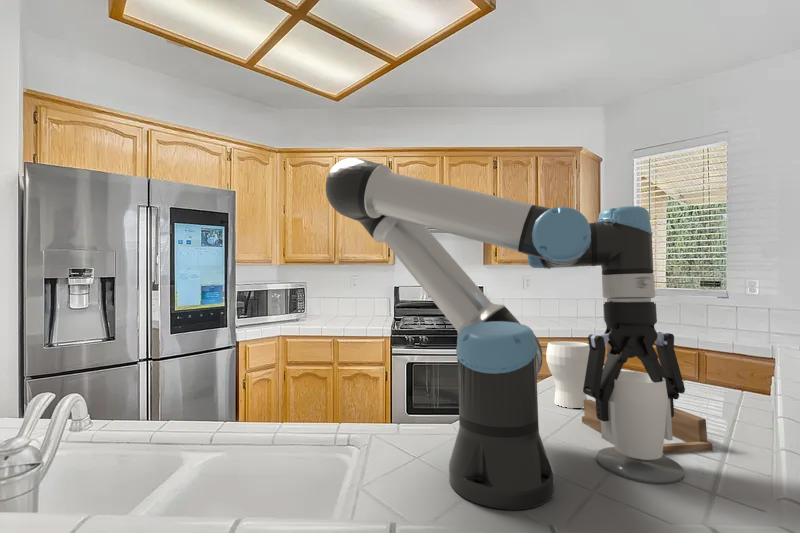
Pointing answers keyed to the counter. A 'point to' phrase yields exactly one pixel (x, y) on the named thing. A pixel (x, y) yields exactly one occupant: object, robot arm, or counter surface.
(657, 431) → the cup
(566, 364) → the cup
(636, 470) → the trivet
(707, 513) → the counter surface
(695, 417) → the cradle
